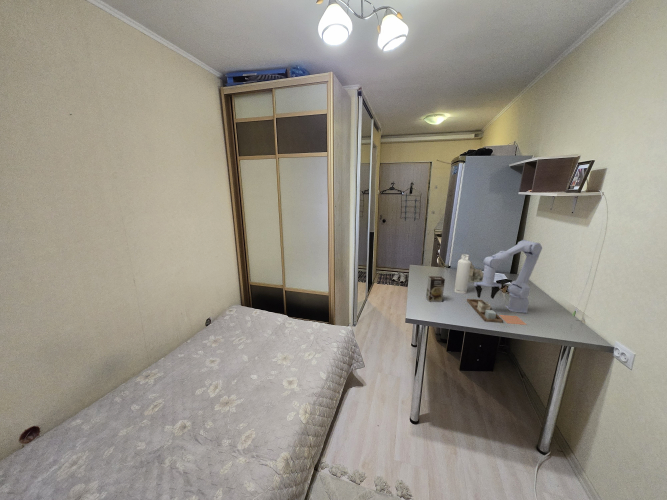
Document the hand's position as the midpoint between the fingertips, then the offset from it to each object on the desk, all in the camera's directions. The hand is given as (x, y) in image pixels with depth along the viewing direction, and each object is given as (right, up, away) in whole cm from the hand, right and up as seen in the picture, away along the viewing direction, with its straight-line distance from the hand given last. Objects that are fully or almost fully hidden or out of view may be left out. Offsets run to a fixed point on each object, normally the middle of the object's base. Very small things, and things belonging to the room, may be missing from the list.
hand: (485, 297), depth 151 cm
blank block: (-1, -11, -6) cm, 12 cm away
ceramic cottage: (+24, +3, +56) cm, 61 cm away
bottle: (+1, -2, +33) cm, 33 cm away
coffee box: (-24, -5, +18) cm, 31 cm away
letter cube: (0, -9, +2) cm, 9 cm away
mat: (+11, -12, -8) cm, 18 cm away
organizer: (0, -9, +2) cm, 9 cm away
